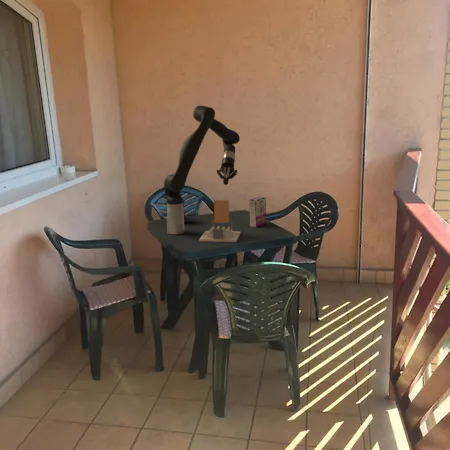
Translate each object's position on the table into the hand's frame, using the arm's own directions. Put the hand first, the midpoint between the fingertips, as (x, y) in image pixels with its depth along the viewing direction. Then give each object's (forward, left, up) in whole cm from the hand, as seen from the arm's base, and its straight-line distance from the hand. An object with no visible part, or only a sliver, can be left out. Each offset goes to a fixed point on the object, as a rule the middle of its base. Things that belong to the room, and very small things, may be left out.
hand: (225, 184), depth 286 cm
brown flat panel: (0, -16, -19) cm, 25 cm away
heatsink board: (0, -22, -26) cm, 34 cm away
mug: (-33, +12, -26) cm, 44 cm away
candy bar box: (+18, +6, -26) cm, 32 cm away
